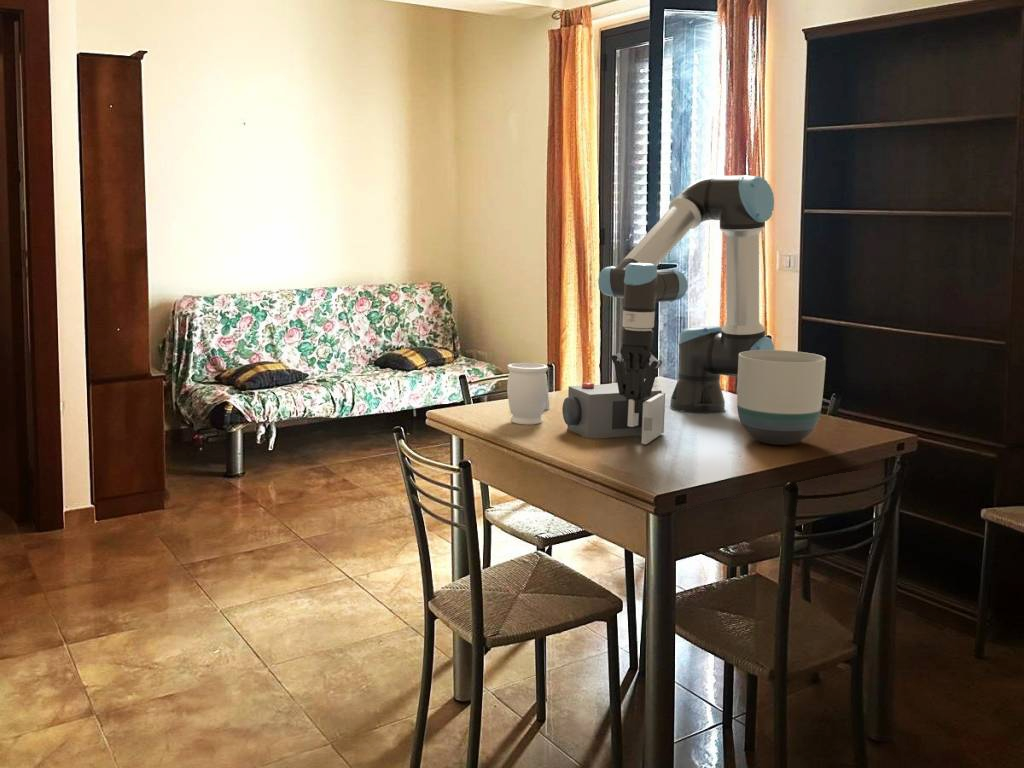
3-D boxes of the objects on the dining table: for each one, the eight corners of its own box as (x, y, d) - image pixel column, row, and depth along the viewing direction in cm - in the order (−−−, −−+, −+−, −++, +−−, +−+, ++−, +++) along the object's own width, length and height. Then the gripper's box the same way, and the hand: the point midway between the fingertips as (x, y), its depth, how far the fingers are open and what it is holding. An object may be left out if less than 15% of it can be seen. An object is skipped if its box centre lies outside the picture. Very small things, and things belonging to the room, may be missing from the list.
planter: (717, 436, 268) (722, 351, 264) (786, 431, 275) (791, 348, 271) (765, 455, 249) (771, 363, 245) (837, 449, 257) (844, 360, 253)
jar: (498, 421, 281) (499, 364, 278) (524, 416, 288) (526, 360, 285) (528, 428, 273) (529, 369, 271) (554, 422, 281) (556, 365, 278)
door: (658, 431, 269) (660, 392, 268) (668, 432, 268) (670, 393, 267) (640, 444, 255) (641, 403, 254) (650, 445, 254) (652, 404, 253)
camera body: (636, 424, 281) (638, 378, 279) (660, 433, 269) (662, 386, 267) (560, 429, 272) (561, 382, 270) (580, 439, 261) (582, 391, 259)
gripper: (606, 327, 256) (601, 423, 260) (653, 332, 248) (647, 432, 252) (623, 324, 262) (618, 419, 266) (669, 330, 254) (663, 427, 258)
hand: (632, 425), depth 259 cm, fingers closed
